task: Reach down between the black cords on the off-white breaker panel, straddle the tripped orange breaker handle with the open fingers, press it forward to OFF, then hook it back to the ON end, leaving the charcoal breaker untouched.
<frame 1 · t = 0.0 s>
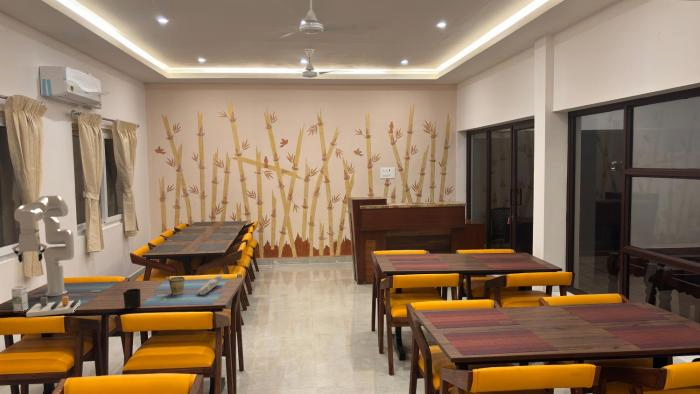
hand: (30, 261, 289), 31 cm above the table, fingers open, 9 cm apart
on breaker: (44, 301, 300), point 5 cm above the table, slide at 0.0 cm
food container: (208, 290, 338), on the table
tripped breaker: (65, 300, 300), point 5 cm above the table, slide at 3.0 cm
breaker panel: (54, 310, 299), on the table
ceramic cup: (178, 293, 332), on the table
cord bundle: (65, 303, 300), on the breaker panel, point 3 cm above the table
syrup box: (21, 311, 298), on the table
pen holder: (132, 307, 302), on the table
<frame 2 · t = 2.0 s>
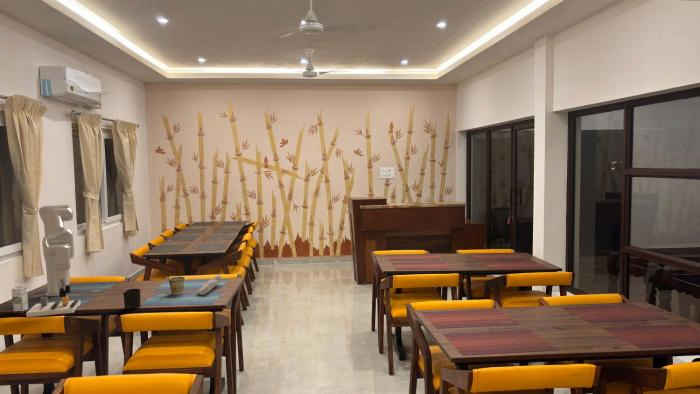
hand: (65, 295, 299), 9 cm above the table, fingers open, 9 cm apart
nothing on the table moved.
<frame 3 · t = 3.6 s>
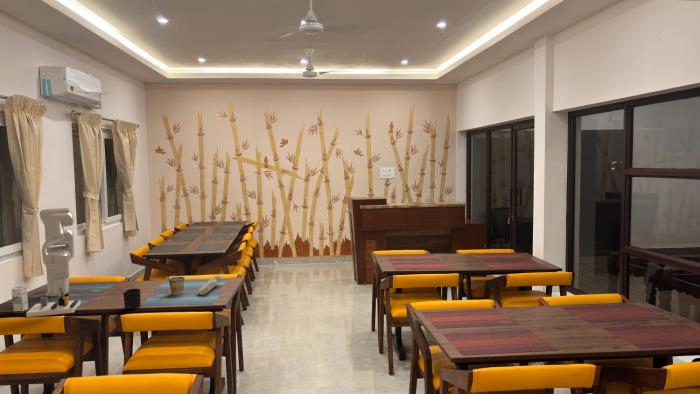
hand: (64, 303, 297), 4 cm above the table, fingers open, 9 cm apart
tripped breaker: (65, 300, 300), point 5 cm above the table, slide at 3.0 cm, touching gripper
everything else where it was.
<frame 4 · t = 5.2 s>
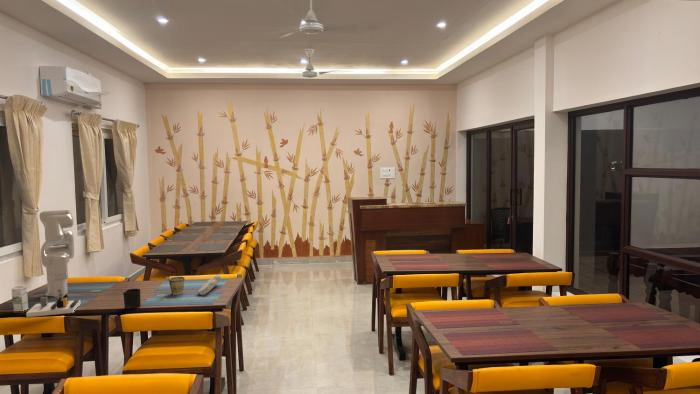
hand: (62, 305, 294), 4 cm above the table, fingers open, 9 cm apart
tripped breaker: (63, 302, 297), point 5 cm above the table, slide at 6.1 cm
everything else where it was.
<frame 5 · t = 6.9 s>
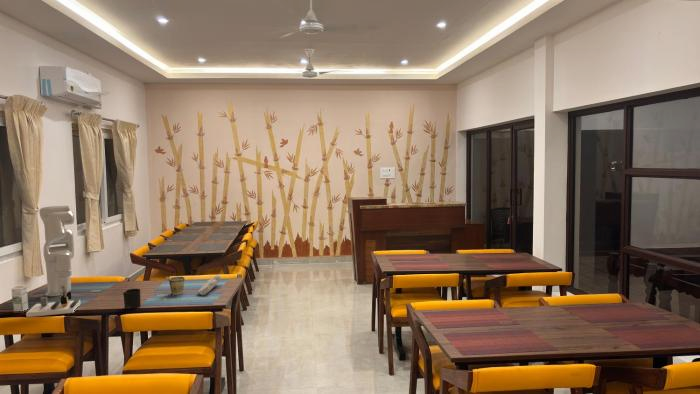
hand: (66, 301, 302), 4 cm above the table, fingers open, 9 cm apart
tripped breaker: (64, 301, 299), point 5 cm above the table, slide at 4.3 cm, touching gripper
everything else where it was.
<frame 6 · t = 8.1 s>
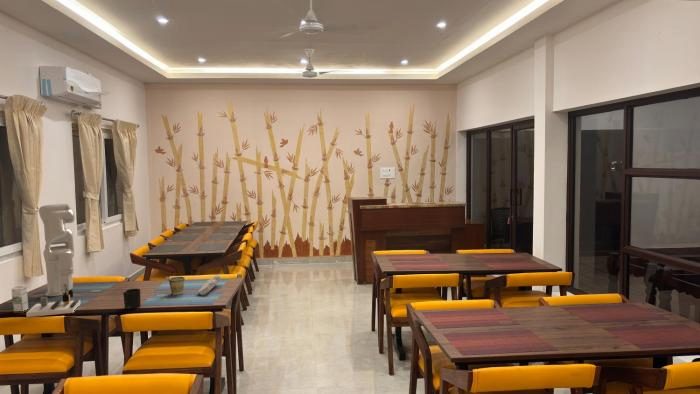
hand: (68, 299, 306), 4 cm above the table, fingers open, 9 cm apart
tripped breaker: (66, 299, 303), point 5 cm above the table, slide at -0.1 cm, touching gripper
everything else where it was.
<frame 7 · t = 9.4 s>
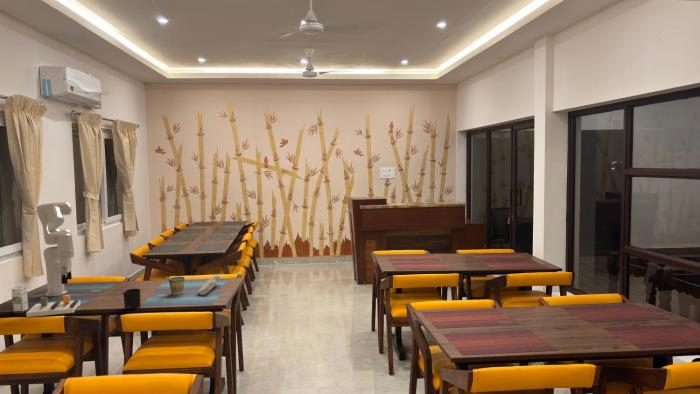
hand: (66, 281, 306), 15 cm above the table, fingers open, 9 cm apart
tripped breaker: (66, 299, 303), point 5 cm above the table, slide at -0.1 cm
everything else where it was.
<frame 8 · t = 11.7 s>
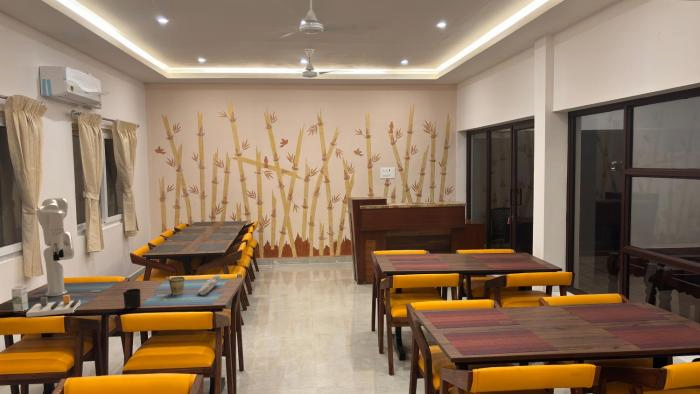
hand: (58, 259, 308), 28 cm above the table, fingers open, 9 cm apart
nothing on the table moved.
at the end: tripped breaker slide at -0.1 cm; on breaker slide at 0.0 cm; syrup box moved 0.2 cm from its start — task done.
